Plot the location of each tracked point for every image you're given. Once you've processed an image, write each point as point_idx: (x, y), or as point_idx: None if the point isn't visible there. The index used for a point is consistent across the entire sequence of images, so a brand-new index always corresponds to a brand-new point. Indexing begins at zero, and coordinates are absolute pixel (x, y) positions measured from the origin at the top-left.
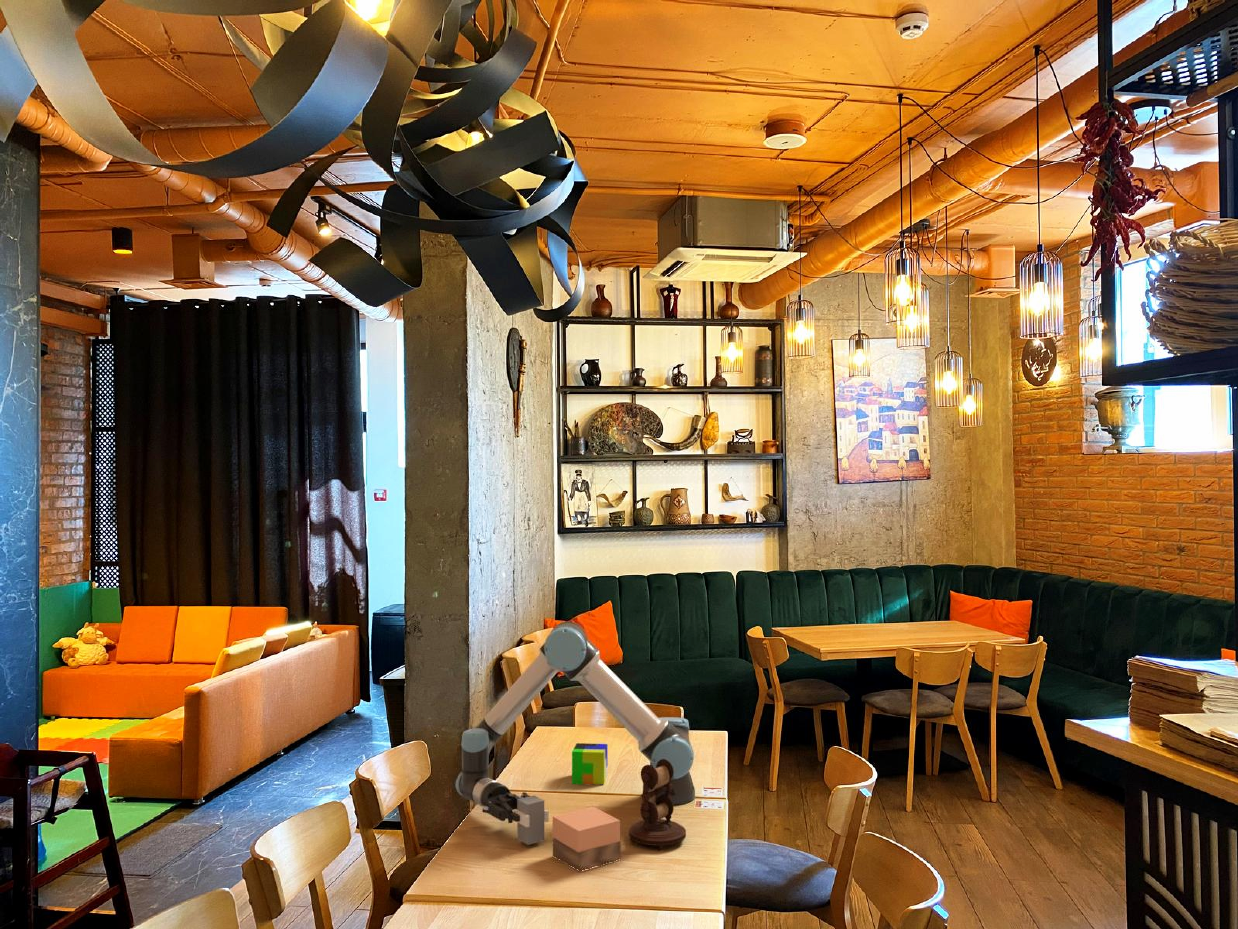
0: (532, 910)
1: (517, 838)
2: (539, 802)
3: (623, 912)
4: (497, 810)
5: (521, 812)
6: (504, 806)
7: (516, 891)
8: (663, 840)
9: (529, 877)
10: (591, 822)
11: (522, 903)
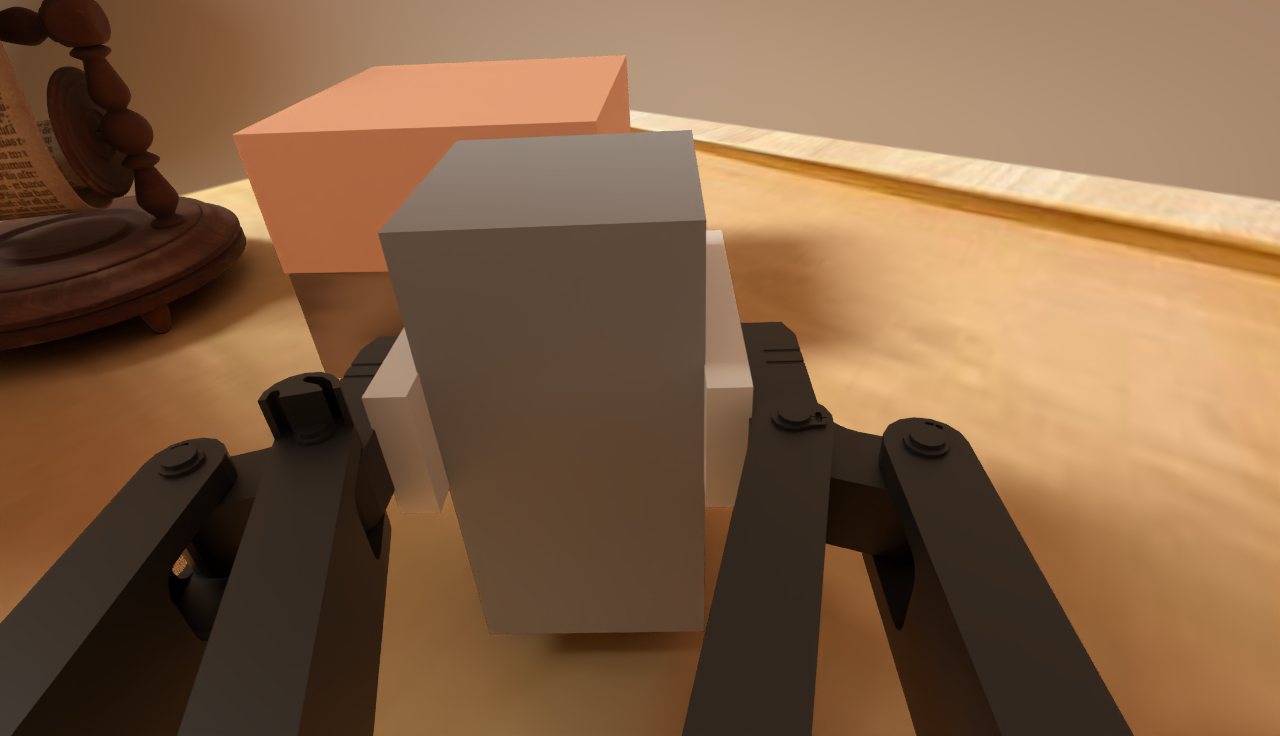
0: (935, 173)
1: (703, 626)
2: (527, 144)
3: (696, 131)
4: (1017, 550)
5: (709, 296)
6: (820, 610)
7: (960, 236)
8: (208, 203)
9: (860, 280)
10: (493, 71)
11: (958, 195)
